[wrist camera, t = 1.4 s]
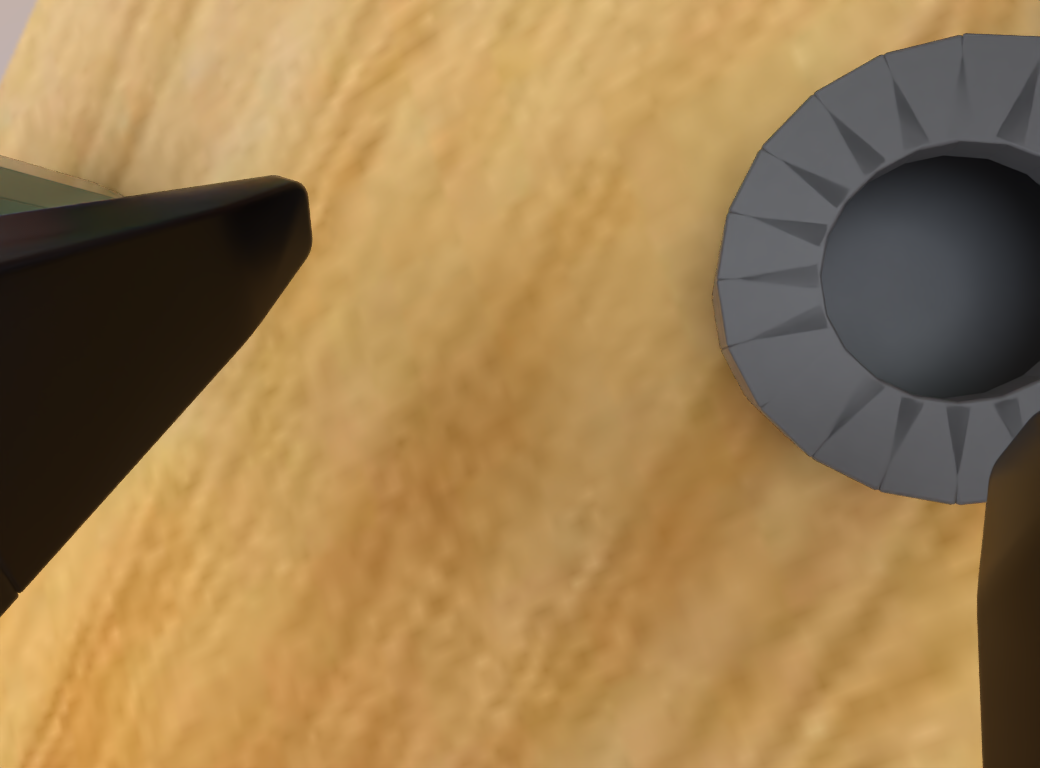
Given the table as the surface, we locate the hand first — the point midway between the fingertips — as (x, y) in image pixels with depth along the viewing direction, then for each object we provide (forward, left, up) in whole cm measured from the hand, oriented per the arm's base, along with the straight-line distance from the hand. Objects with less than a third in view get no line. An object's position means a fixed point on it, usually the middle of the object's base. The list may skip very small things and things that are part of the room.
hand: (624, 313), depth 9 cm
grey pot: (+2, -6, -14) cm, 16 cm away
